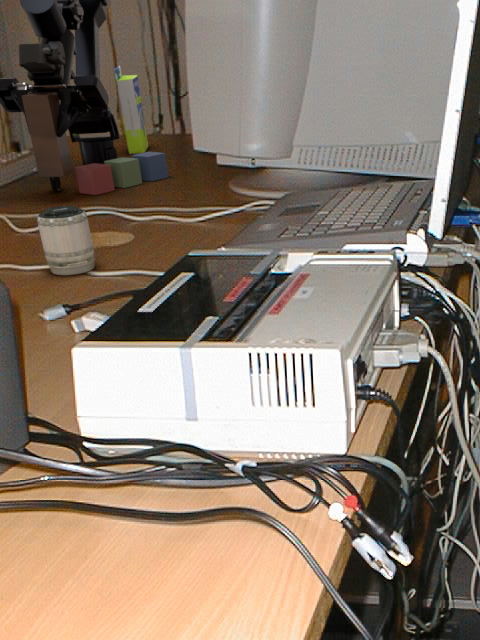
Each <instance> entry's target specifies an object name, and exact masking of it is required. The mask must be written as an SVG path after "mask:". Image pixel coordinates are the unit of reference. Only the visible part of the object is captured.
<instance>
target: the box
mask: <svg viewBox="0 0 480 640" xmlns="http://www.w3.org/2000/svg"><path fill="white" fill-rule="evenodd" d="M121 67H122V66H121V65H118V66H117V67H115V68H114V69H113V74H114V78H115V84H116V88H117V95H118V101H119V107H120V111H121V112H120V113H121V118H122V123H123V129H124V135H125V139H126V140H125V141H126V145H127V151H128V155H136V154H140V153H145V152H147V149H148V147H149V141H148V134H147V127H146V121H145V115H144V108H143V102H142V97H141V90H140V84H139V76H138V74H129V75H123V73H122V68H121Z"/></svg>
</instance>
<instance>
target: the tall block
mask: <svg viewBox="0 0 480 640" xmlns="http://www.w3.org/2000/svg"><path fill="white" fill-rule="evenodd" d="M22 100H23V105H24V109H25V114H26V118H27V123H28V127H27V129H28V128H29V131H28V133H29V132H30V134H29V136H30V141H31V145H32V150H33V154H34V158H35V163H36V168H37V172H38V177H39V178H49V177H60V178H64V177H66V176H68V175H70V174H72V173H74V172H75V170H74V165H73V161H72V158H71V151H70V147H69V142H68V141H69V140H68V136H67V133H66V132H67V131H66V132H65V133H64V134H63V135H62V137H58V135H57V120H58V114H59V108H60V100H59V96H58V92H39V93H30V94H26V95H23V96H22ZM27 123H26V124H27Z"/></svg>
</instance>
